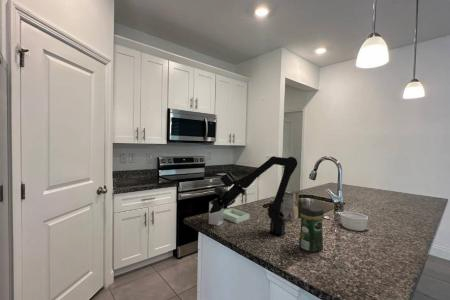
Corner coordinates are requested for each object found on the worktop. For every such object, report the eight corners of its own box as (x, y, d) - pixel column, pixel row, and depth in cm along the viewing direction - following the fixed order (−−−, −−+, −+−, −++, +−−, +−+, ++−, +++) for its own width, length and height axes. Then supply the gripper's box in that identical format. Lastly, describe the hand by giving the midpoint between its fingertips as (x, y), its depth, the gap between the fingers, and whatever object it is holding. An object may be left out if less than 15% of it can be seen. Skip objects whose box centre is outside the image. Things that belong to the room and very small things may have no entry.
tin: (223, 222, 120) (224, 201, 120) (218, 225, 115) (218, 203, 114) (214, 220, 123) (214, 199, 123) (208, 223, 117) (209, 202, 117)
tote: (249, 219, 126) (249, 214, 126) (236, 223, 119) (236, 218, 119) (231, 212, 137) (231, 208, 137) (218, 216, 130) (218, 211, 130)
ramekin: (340, 221, 127) (340, 210, 127) (366, 226, 121) (367, 214, 120) (339, 228, 116) (339, 215, 116) (368, 234, 109) (368, 220, 109)
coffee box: (288, 215, 136) (289, 190, 136) (298, 217, 132) (299, 191, 132) (282, 219, 129) (283, 192, 128) (293, 221, 125) (293, 194, 124)
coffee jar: (310, 242, 98) (312, 202, 98) (326, 249, 91) (327, 206, 90) (295, 246, 94) (296, 204, 93) (309, 254, 86) (311, 209, 86)
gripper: (231, 179, 125) (214, 195, 130) (215, 184, 108) (196, 202, 113) (243, 194, 121) (225, 210, 127) (228, 202, 105) (208, 220, 110)
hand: (214, 210), depth 119 cm, fingers open, 9 cm apart
